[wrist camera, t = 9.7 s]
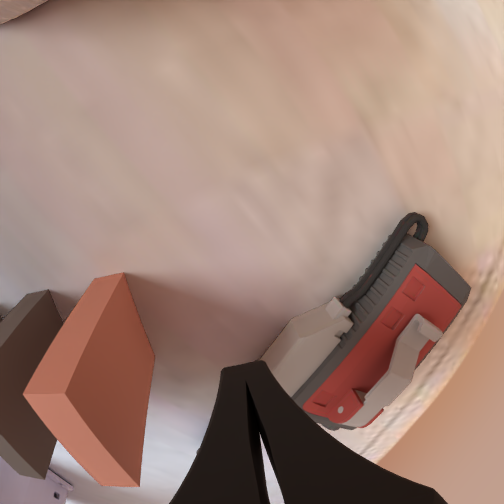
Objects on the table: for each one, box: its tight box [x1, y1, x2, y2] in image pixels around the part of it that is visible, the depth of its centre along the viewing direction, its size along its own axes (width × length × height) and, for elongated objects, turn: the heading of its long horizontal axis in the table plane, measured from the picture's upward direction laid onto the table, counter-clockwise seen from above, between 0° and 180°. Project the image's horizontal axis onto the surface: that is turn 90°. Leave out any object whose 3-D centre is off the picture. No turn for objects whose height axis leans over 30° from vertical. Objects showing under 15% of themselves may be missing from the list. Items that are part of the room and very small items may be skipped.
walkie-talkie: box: [197, 212, 471, 453], centre depth 16 cm, size 9×4×20 cm
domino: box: [0, 290, 63, 480], centre depth 10 cm, size 2×5×8 cm, turn 10°
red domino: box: [23, 272, 155, 487], centre depth 11 cm, size 2×5×8 cm, turn 10°
